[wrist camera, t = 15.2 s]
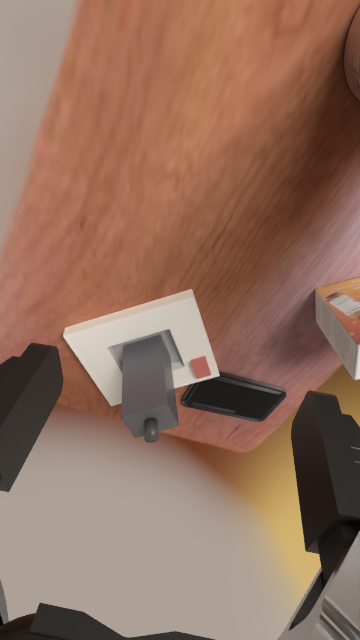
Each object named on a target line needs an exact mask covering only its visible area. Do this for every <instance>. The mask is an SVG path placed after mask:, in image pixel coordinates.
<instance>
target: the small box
mask: <svg viewBox="0 0 360 640" xmlns="http://www.w3.org/2000/svg"><path fill="white" fill-rule="evenodd" d="M315 295H316V297H315V303H316V323H317V324H318V326H319V327H320V329H321V330H322V332H323V333H324V335H325V337H326V338H327V340H328V341H329V343H330V344H331V346H332V347H333V349H334V350H335V352H336V353H337V355H338V357H339V358H340V360H341V361H342V363H343V364H344V366H345V367H346V369H347V370H348V372H349V373H350V375H351V376H352V378H353V379H354V380H357V379H360V277H358V278H355V279H351V280H347V281H343V282H339V283H335V284H331V285H327V286H322V287H318V288H316V290H315Z"/></svg>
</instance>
